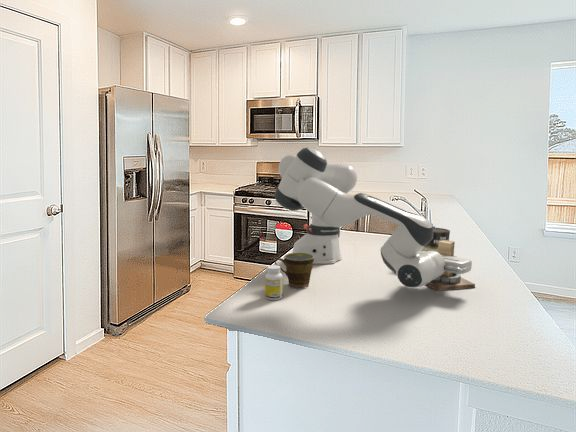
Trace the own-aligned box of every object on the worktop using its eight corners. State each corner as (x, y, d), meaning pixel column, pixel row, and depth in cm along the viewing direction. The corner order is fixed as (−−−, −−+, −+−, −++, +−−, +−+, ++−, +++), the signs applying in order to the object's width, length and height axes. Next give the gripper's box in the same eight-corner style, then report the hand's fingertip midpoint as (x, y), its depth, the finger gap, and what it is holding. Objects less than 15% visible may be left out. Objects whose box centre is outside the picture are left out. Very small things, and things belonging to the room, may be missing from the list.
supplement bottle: (273, 293, 139) (273, 263, 137) (286, 297, 136) (286, 266, 134) (261, 298, 135) (261, 267, 133) (274, 302, 132) (274, 270, 130)
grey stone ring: (439, 284, 145) (439, 278, 144) (422, 275, 154) (423, 270, 154) (466, 282, 147) (466, 276, 147) (448, 274, 157) (449, 268, 156)
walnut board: (437, 290, 143) (437, 287, 142) (415, 277, 156) (415, 274, 156) (474, 287, 146) (475, 284, 146) (450, 275, 159) (450, 272, 159)
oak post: (448, 278, 148) (450, 243, 146) (436, 276, 150) (438, 241, 148) (452, 275, 151) (454, 241, 149) (440, 273, 153) (442, 239, 151)
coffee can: (453, 267, 170) (455, 231, 167) (429, 269, 167) (432, 232, 165) (437, 260, 179) (439, 226, 177) (415, 262, 177) (417, 227, 174)
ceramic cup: (312, 280, 152) (312, 252, 150) (315, 290, 142) (315, 260, 141) (274, 280, 152) (274, 252, 150) (274, 290, 142) (274, 260, 140)
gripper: (464, 261, 132) (478, 252, 143) (401, 250, 145) (418, 243, 156) (463, 281, 133) (477, 271, 144) (400, 268, 146) (417, 260, 157)
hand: (446, 257), depth 150 cm, fingers closed on oak post, 4 cm apart
